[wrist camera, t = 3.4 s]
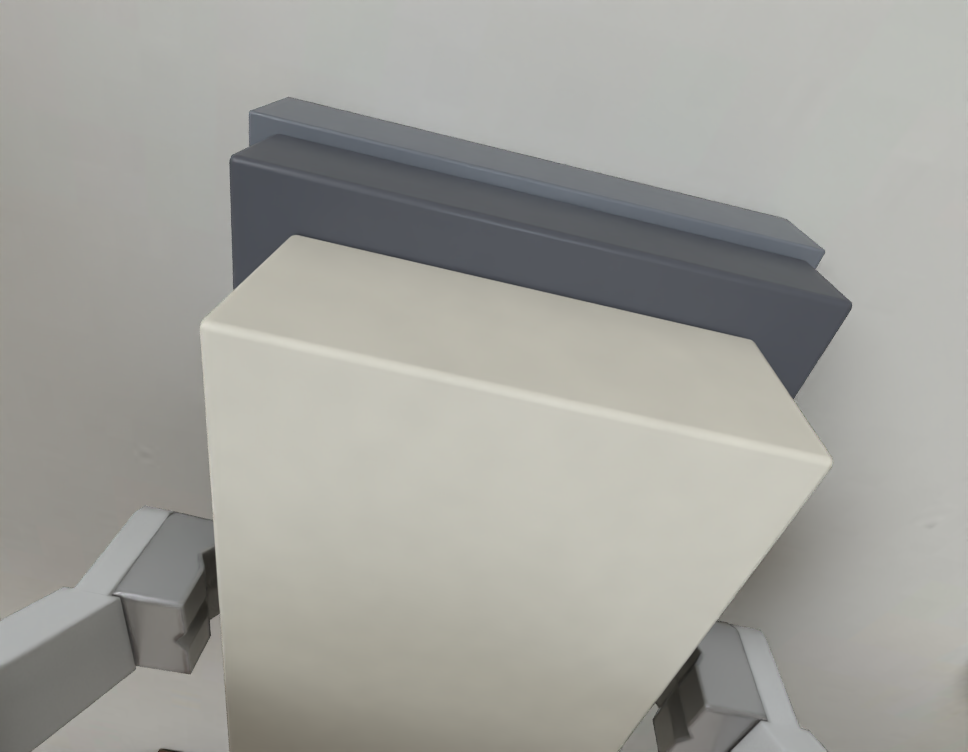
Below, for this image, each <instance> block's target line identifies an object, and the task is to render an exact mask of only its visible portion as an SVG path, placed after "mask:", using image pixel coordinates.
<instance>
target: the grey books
mask: <svg viewBox="0 0 968 752" xmlns="http://www.w3.org/2000/svg"><path fill="white" fill-rule="evenodd" d="M229 164H230V196H231V227H232V259H233V291H234V290H235V289H236V288H237V287H238V286H239V285H240V284H241V283H242V282H243V281H244V280H245V279H246V278H247V277H248V276H249V275H250V274H252V273H253V272H254V271H255V270H256V269H257V268H258V267H259V266H260V265H261V264H262V263H263V262H264V261H265V260H266V259H267V258H268V257H270V256H271V255H272V254H273V253H274V252H275V251H276V250H277V249H278V248H279V247H280V246H281V245H282V244H283V243H284V242H285V241H287V240H288V239H289V238H290V237H291V236H293V235H300V236H304V237H308V238H312V239H317V240H321V241H325V242H330V243H334V244H338V245H343V246H347V247H351V248H356V249H360V250H364V251H369V252H373V253H377V254H382V255H386V256H390V257H395V258H399V259H403V260H408V261H412V262H416V263H421V264H425V265H429V266H434V267H438V268H442V269H447V270H451V271H455V272H460V273H464V274H468V275H473V276H477V277H481V278H486V279H490V280H494V281H499V282H503V283H507V284H512V285H516V286H520V287H525V288H529V289H533V290H538V291H542V292H546V293H551V294H555V295H559V296H564V297H568V298H572V299H577V300H581V301H585V302H590V303H594V304H598V305H603V306H607V307H611V308H616V309H620V310H624V311H629V312H633V313H637V314H641V315H646V316H650V317H654V318H659V319H663V320H667V321H672V322H676V323H680V324H685V325H689V326H693V327H698V328H702V329H706V330H711V331H715V332H719V333H724V334H728V335H732V336H737V337H741V338H745V339H750V340H752V341H753V342H755V344H756V345H757V347H758V348H759V350H760V351H761V353H762V354H763V356H764V357H765V359H766V360H767V362H768V363H769V364H770V366H771V367H772V369H773V370H774V372H775V373H776V375H777V376H778V378H779V379H780V381H781V382H782V384H783V385H784V387H785V388H786V390H787V391H788V393H789V394H790V396H791V397H792V399H794V398H795V396H796V394H797V393H798V391H799V390H800V388H801V387H802V385H803V384H804V382H805V380H806V379H807V377H808V376H809V374H810V373H811V371H812V370H813V368H814V366H815V365H816V363H817V362H818V360H819V359H820V357H821V356H822V354H823V352H824V351H825V349H826V348H827V346H828V345H829V343H830V342H831V340H832V338H833V337H834V335H835V334H836V332H837V331H838V329H839V328H840V326H841V324H842V323H843V321H844V320H845V318H846V317H847V315H848V314H849V312H850V310H851V308H852V302H850V301H849V300H848V299H847V298H846V297H845V296H844V295H843V294H842V293H841V292H839V291H838V290H837V289H836V288H835V287H834V286H833V285H832V284H831V283H830V282H828V281H827V280H826V279H825V278H824V277H823V276H822V275H821V274H820V273H819V272H818V271H816V270H815V269H816V267H817V266H818V264H819V262H820V261H821V259H822V257H823V255H824V254H825V250H824V249H823V248H821V247H820V246H819V245H818V244H816V243H815V242H814V241H813V240H812V239H810V238H809V237H808V236H807V235H805V234H804V233H803V232H802V231H801V230H799V229H798V228H797V227H796V226H794V225H793V224H792V223H791V222H790V221H788V220H787V219H784V218H780V217H776V216H772V215H768V214H763V213H759V212H755V211H751V210H747V209H743V208H739V207H735V206H731V205H727V204H723V203H719V202H714V201H710V200H706V199H702V198H698V197H694V196H690V195H686V194H682V193H678V192H674V191H670V190H666V189H661V188H657V187H653V186H649V185H645V184H641V183H637V182H633V181H629V180H625V179H621V178H617V177H613V176H608V175H604V174H600V173H596V172H592V171H588V170H584V169H580V168H576V167H572V166H568V165H564V164H560V163H555V162H551V161H547V160H543V159H539V158H535V157H531V156H527V155H523V154H519V153H515V152H511V151H506V150H502V149H498V148H494V147H490V146H486V145H482V144H478V143H474V142H470V141H466V140H462V139H458V138H453V137H449V136H445V135H441V134H437V133H433V132H429V131H425V130H421V129H417V128H413V127H409V126H405V125H400V124H396V123H392V122H388V121H384V120H380V119H376V118H372V117H368V116H364V115H360V114H356V113H352V112H347V111H343V110H339V109H335V108H331V107H327V106H323V105H319V104H315V103H311V102H307V101H303V100H298V99H294V98H290V97H287V98H284V99H281V100H279V101H276V102H273V103H270V104H268V105H265V106H262V107H259V108H256V109H254V110H251V111H250V112H249V147H248V148H246V149H244V150H241V151H239V152H237V153H235V154H233V155H232V156H231V158H230V162H229Z"/></svg>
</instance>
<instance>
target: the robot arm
mask: <svg viewBox="0 0 968 752" xmlns="http://www.w3.org/2000/svg"><path fill="white" fill-rule="evenodd" d="M218 614H220V610H219V596H218V582H217V567H216V553H215V539H214V525H213V520H210V519H205V518H201V517H196V516H192V515H188V514H183V513H179V512H175V511H170V510H165V509H160V508H156V507H151V506H146V505H145V506H143V507H142V508H140V509H139V510H137V511H136V512H135V513H134V514H133V515H132V516H131V517H130V519H129V520H128V521H127V522H126V524H125V525H124V526H123V527H122V529H121V530H120V531H119V532H118V534H117V535H116V536H115V537H114V539H113V540H112V541H111V542H110V544H109V545H108V546H107V547H106V549H105V550H104V551H103V552H102V554H101V555H100V556H99V557H98V559H97V560H96V561H95V562H94V564H93V565H92V566H91V567H90V569H89V570H88V571H87V572H86V574H85V575H84V576H83V577H82V579H81V580H80V581H79V582H78V584H77V585H76V586H75V587H74V588H69V587H63V588H61V589H59V590H57V591H55V592H53V593H51V594H49V595H47V596H46V597H44V598H42V599H40V600H38V601H36V602H34V603H32V604H30V605H28V606H27V607H25V608H23V609H21V610H19V611H17V612H15V613H13V614H11V615H10V616H8V617H6V618H4V619H2V620H0V752H31V751H32V750H34V749H35V748H36V747H38V746H39V745H40V744H41V743H43V742H44V741H45V740H46V739H48V738H49V737H50V736H52V735H53V734H54V733H55V732H57V731H58V730H59V729H60V728H62V727H63V726H64V725H66V724H67V723H68V722H69V721H71V720H72V719H73V718H75V717H76V716H77V715H78V714H80V713H81V712H82V711H83V710H85V709H86V708H87V707H89V706H90V705H91V704H92V703H94V702H95V701H96V700H97V699H99V698H100V697H101V696H103V695H104V694H105V693H106V692H108V691H109V690H110V689H112V688H113V687H114V686H115V685H117V684H118V683H119V682H120V681H122V680H123V679H124V678H126V677H127V676H128V675H129V674H131V673H132V672H133V671H134V670H136V666H140V667H147V668H153V669H160V670H166V671H172V672H179V673H185V674H191V672H192V671H193V669H194V667H195V665H196V663H197V661H198V659H199V657H200V655H201V653H202V651H203V649H204V648H205V646H206V644H207V642H208V640H209V638H210V636H211V632H210V619H212V618H214V617H215V616H217V615H218ZM655 703H656V705H657V706H658V707H659V709H658V710H657V712H656V714H655V716H654V718H653V725H654V731H655V736H656V742H657V747H658V752H828V751H827V750H826V749H825V748H824V746H823V745H822V744H821V743H820V742H819V741H818V740H817V739H816V737H815V736H814V735H813V734H812V733H811V732H810V731H809V730H806V729H802V728H800V726H799V723H798V720H797V718H796V715H795V712H794V710H793V707H792V705H791V702H790V699H789V697H788V694H787V691H786V689H785V686H784V684H783V681H782V678H781V676H780V673H779V670H778V668H777V665H776V663H775V660H774V657H773V655H772V652H771V649H770V647H769V644H768V642H767V639H766V637H765V636H764V634H763V633H762V632H761V631H760V630H758V629H754V628H749V627H743V626H738V625H733V624H729V623H727V622H722V621H716V622H715V624H714V625H713V626H712V628H711V629H710V630H709V632H708V633H707V634H706V636H705V637H704V638H703V640H702V641H701V642H700V644H699V645H698V646H697V648H696V649H695V650H694V652H693V653H692V654H691V656H690V657H689V658H688V660H687V661H686V662H685V664H684V665H683V666H682V667H681V669H680V670H679V671H678V673H677V674H676V675H675V677H674V678H673V679H672V681H671V682H670V683H669V685H668V686H667V687H666V689H665V690H664V691H663V693H662V694H661V695H660V697H659V698H658V699H657V701H656V702H655Z"/></svg>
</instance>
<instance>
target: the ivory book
mask: <svg viewBox="0 0 968 752" xmlns="http://www.w3.org/2000/svg"><path fill="white" fill-rule="evenodd" d="M200 340H201V354H202V368H203V382H204V397H205V411H206V425H207V439H208V454H209V468H210V482H211V496H212V510H213V525H214V539H215V553H216V567H217V582H218V596H219V610H220V624H221V638H222V653H223V667H224V681H225V695H226V710H227V724H228V738H229V752H618V751H619V750H620V749H621V747H622V746H623V745H624V743H625V742H626V741H627V739H628V738H629V737H630V735H631V734H632V733H633V731H634V730H635V729H636V727H637V726H638V725H639V723H640V722H641V721H642V719H643V718H644V717H645V715H646V714H647V713H648V711H649V710H650V709H651V707H652V706H653V705H654V703H655V702H656V701H657V699H658V698H659V697H660V695H661V694H662V693H663V691H664V690H665V689H666V687H667V686H668V685H669V683H670V682H671V681H672V679H673V678H674V677H675V675H676V674H677V673H678V671H679V670H680V669H681V667H682V666H683V665H684V664H685V662H686V661H687V660H688V658H689V657H690V656H691V654H692V653H693V652H694V650H695V649H696V648H697V646H698V645H699V644H700V642H701V641H702V640H703V638H704V637H705V636H706V634H707V633H708V632H709V630H710V629H711V628H712V626H713V625H714V624H715V622H716V621H717V620H718V618H719V617H720V616H721V614H722V613H723V612H724V610H725V609H726V608H727V606H728V605H729V604H730V602H731V601H732V600H733V598H734V597H735V596H736V594H737V593H738V592H739V590H740V589H741V588H742V586H743V585H744V584H745V582H746V581H747V580H748V578H749V577H750V576H751V574H752V573H753V572H754V570H755V569H756V568H757V566H758V565H759V564H760V562H761V561H762V560H763V558H764V557H765V556H766V554H767V553H768V552H769V550H770V549H771V548H772V546H773V545H774V544H775V543H776V541H777V540H778V539H779V537H780V536H781V535H782V533H783V532H784V531H785V529H786V528H787V527H788V525H789V524H790V523H791V521H792V520H793V519H794V517H795V516H796V515H797V513H798V512H799V511H800V509H801V508H802V507H803V505H804V504H805V503H806V501H807V500H808V499H809V497H810V496H811V495H812V493H813V492H814V491H815V489H816V488H817V487H818V485H819V484H820V483H821V481H822V480H823V479H824V477H825V476H826V475H827V473H828V472H829V471H830V469H831V468H832V466H833V458H832V456H831V455H830V453H829V452H828V450H827V449H826V448H825V446H824V445H823V443H822V442H821V440H820V439H819V437H818V436H817V434H816V433H815V431H814V430H813V428H812V427H811V425H810V424H809V422H808V421H807V419H806V418H805V416H804V415H803V413H802V412H801V410H800V409H799V407H798V406H797V405H796V403H795V402H794V400H793V399H792V397H791V396H790V394H789V393H788V391H787V390H786V388H785V387H784V385H783V384H782V382H781V381H780V379H779V378H778V376H777V375H776V373H775V372H774V370H773V369H772V367H771V366H770V364H769V363H768V362H767V360H766V359H765V357H764V356H763V354H762V353H761V351H760V350H759V348H758V347H757V345H756V344H755V342H753V341H752V340H750V339H745V338H741V337H737V336H732V335H728V334H724V333H719V332H715V331H711V330H706V329H702V328H698V327H693V326H689V325H685V324H680V323H676V322H672V321H667V320H663V319H659V318H654V317H650V316H646V315H641V314H637V313H633V312H629V311H624V310H620V309H616V308H611V307H607V306H603V305H598V304H594V303H590V302H585V301H581V300H577V299H572V298H568V297H564V296H559V295H555V294H551V293H546V292H542V291H538V290H533V289H529V288H525V287H520V286H516V285H512V284H507V283H503V282H499V281H494V280H490V279H486V278H481V277H477V276H473V275H468V274H464V273H460V272H455V271H451V270H447V269H442V268H438V267H434V266H429V265H425V264H421V263H416V262H412V261H408V260H403V259H399V258H395V257H390V256H386V255H382V254H377V253H373V252H369V251H364V250H360V249H356V248H351V247H347V246H343V245H338V244H334V243H330V242H325V241H321V240H317V239H312V238H308V237H304V236H300V235H293V236H291V237H290V238H289V239H288V240H287V241H285V242H284V243H283V244H282V245H281V246H280V247H279V248H278V249H277V250H276V251H275V252H274V253H273V254H272V255H271V256H270V257H268V258H267V259H266V260H265V261H264V262H263V263H262V264H261V265H260V266H259V267H258V268H257V269H256V270H255V271H254V272H253V273H252V274H250V275H249V276H248V277H247V278H246V279H245V280H244V281H243V282H242V283H241V284H240V285H239V286H238V287H237V288H236V289H235V290H234V291H232V292H231V293H230V294H229V295H228V296H227V297H226V298H225V299H224V300H223V301H222V302H221V303H220V304H219V305H218V306H217V307H216V308H214V309H213V310H212V311H211V312H210V313H209V314H208V315H207V316H206V317H205V318H204V319H203V320H202V322H201V324H200Z"/></svg>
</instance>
